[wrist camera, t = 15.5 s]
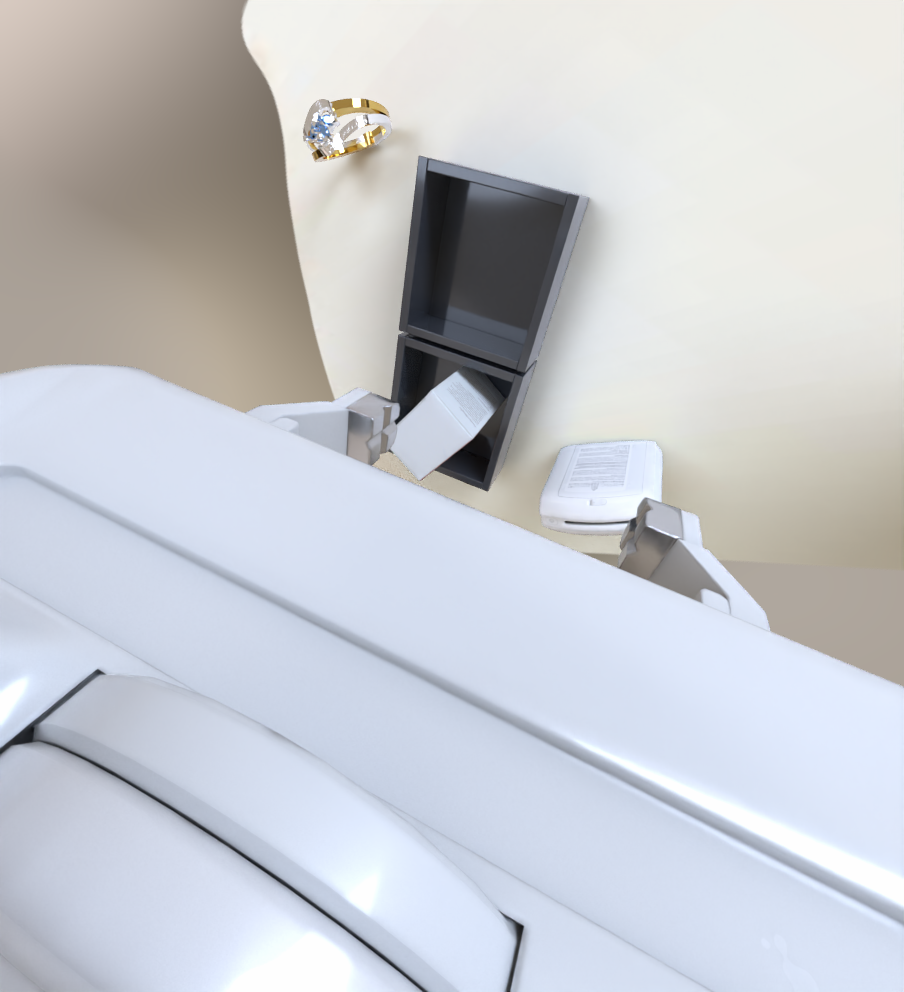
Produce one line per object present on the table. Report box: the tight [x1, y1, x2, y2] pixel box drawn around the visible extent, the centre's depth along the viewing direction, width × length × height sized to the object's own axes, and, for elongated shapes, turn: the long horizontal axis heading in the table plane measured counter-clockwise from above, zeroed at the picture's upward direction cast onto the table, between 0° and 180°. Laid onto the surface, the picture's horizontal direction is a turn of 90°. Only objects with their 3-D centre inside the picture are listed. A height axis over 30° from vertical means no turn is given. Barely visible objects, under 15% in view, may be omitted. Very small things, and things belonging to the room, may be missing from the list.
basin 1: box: [399, 156, 589, 373], centre depth 37 cm, size 13×13×6 cm
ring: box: [303, 99, 392, 162], centre depth 35 cm, size 7×3×8 cm, turn 103°
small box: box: [390, 366, 505, 481], centre depth 43 cm, size 8×6×10 cm
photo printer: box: [539, 440, 663, 536], centre depth 40 cm, size 10×4×12 cm, turn 104°
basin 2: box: [388, 332, 537, 491], centre depth 46 cm, size 13×13×6 cm
